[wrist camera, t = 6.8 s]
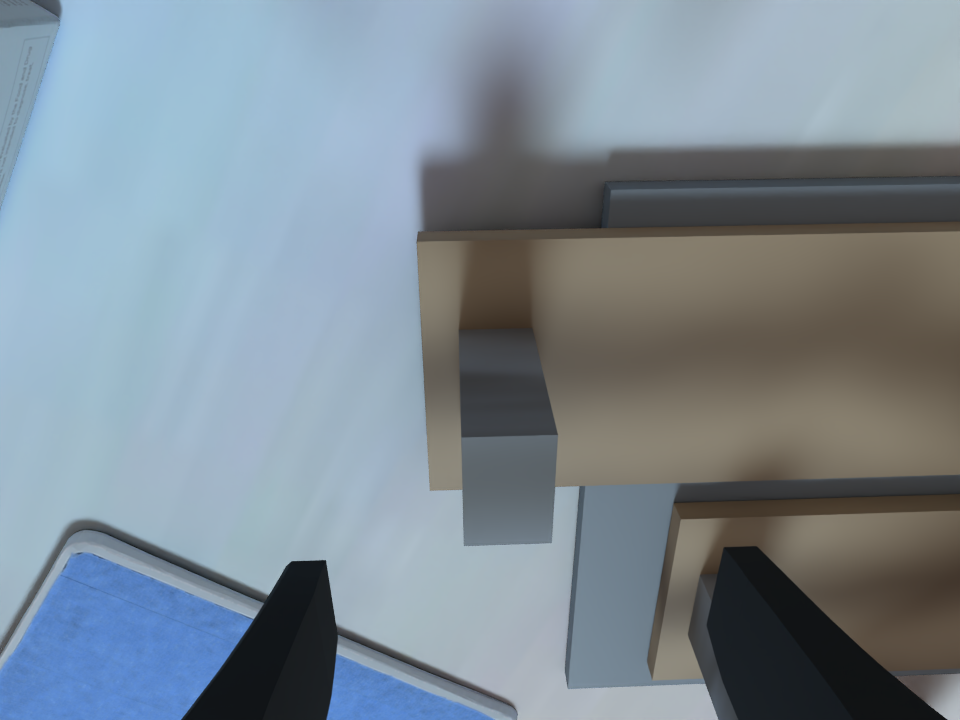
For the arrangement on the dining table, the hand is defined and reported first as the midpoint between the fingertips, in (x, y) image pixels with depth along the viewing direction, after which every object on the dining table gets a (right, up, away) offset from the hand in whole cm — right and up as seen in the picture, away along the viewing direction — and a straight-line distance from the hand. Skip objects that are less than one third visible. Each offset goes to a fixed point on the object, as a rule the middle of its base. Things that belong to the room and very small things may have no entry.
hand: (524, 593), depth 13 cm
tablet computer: (-10, -10, +17) cm, 22 cm away
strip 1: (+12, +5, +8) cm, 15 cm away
